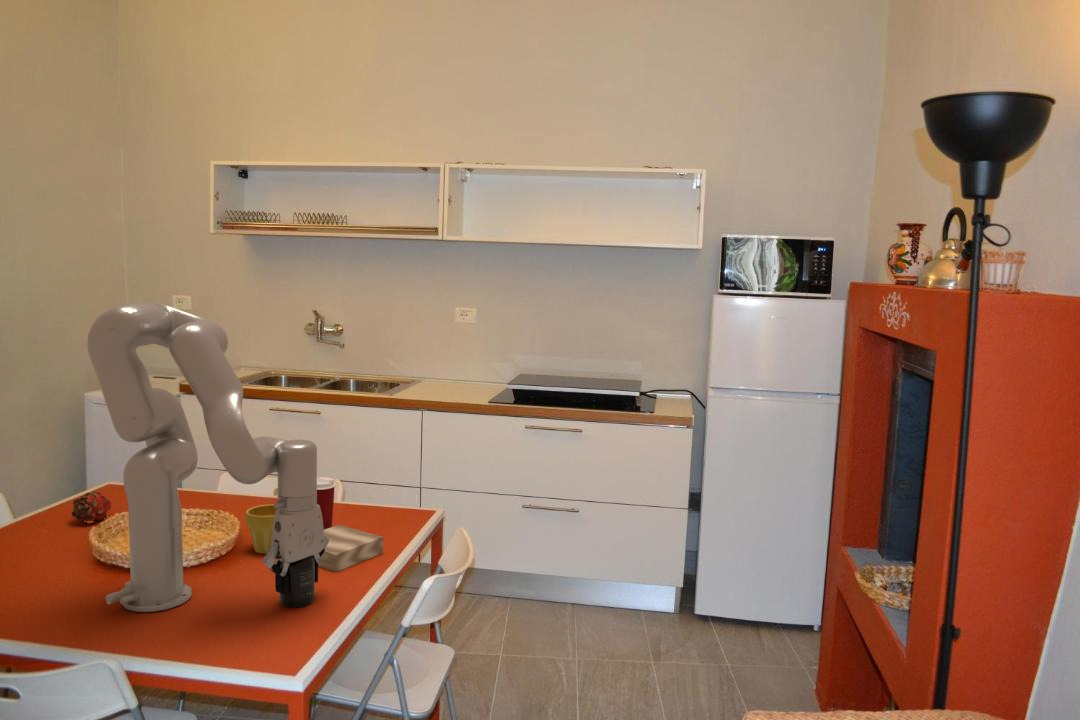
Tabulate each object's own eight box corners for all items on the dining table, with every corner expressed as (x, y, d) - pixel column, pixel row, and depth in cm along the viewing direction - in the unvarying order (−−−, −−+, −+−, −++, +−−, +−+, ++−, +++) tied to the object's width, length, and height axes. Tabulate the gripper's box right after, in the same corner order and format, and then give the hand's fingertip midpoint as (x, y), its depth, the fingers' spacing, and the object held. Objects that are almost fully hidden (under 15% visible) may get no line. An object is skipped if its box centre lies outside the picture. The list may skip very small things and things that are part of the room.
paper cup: (339, 529, 202) (340, 477, 200) (329, 539, 194) (329, 485, 193) (311, 527, 203) (311, 475, 201) (299, 537, 195) (299, 483, 194)
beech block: (336, 572, 174) (336, 554, 173) (291, 557, 181) (291, 540, 181) (382, 553, 186) (383, 537, 186) (339, 540, 194) (339, 524, 194)
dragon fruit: (82, 535, 196) (94, 527, 207) (112, 513, 198) (122, 506, 210) (60, 509, 195) (73, 502, 206) (91, 487, 197) (102, 482, 208)
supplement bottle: (314, 593, 162) (315, 538, 160) (314, 607, 155) (314, 549, 154) (280, 595, 160) (280, 539, 159) (278, 609, 153) (278, 551, 152)
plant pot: (271, 538, 193) (271, 501, 192) (300, 547, 188) (300, 508, 187) (236, 550, 185) (236, 511, 184) (266, 560, 179) (265, 519, 178)
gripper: (274, 515, 146) (274, 606, 148) (342, 495, 161) (342, 577, 163) (248, 508, 150) (249, 596, 152) (317, 489, 165) (317, 569, 167)
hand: (297, 586), depth 157 cm, fingers closed on supplement bottle, 6 cm apart
